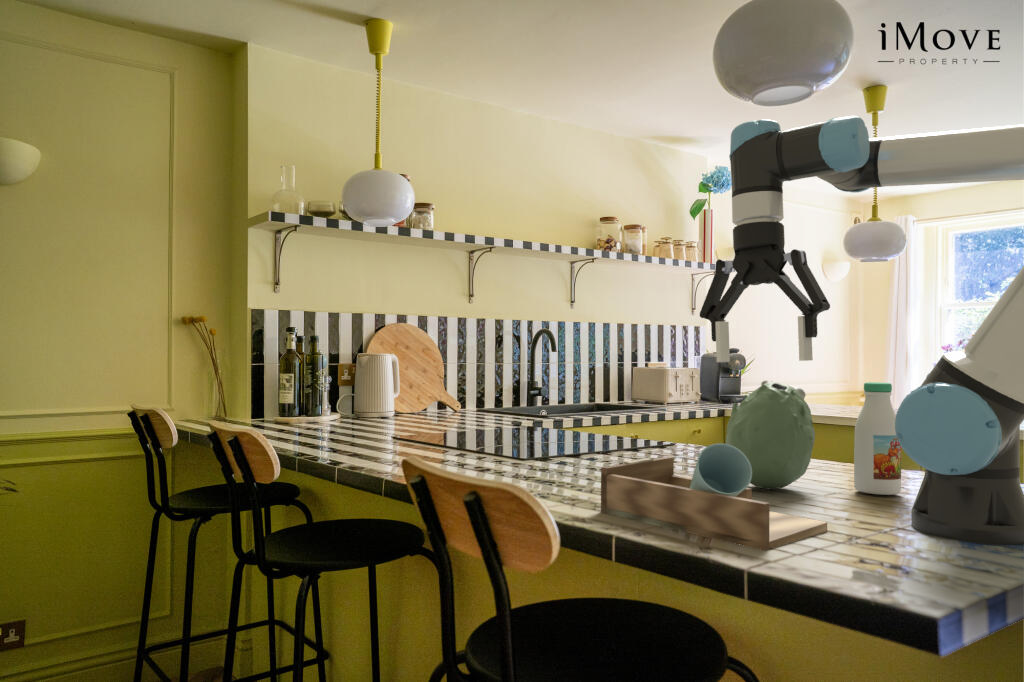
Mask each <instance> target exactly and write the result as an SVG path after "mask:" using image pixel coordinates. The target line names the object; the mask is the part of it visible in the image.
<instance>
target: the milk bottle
mask: <svg viewBox="0 0 1024 682" xmlns="http://www.w3.org/2000/svg"><path fill="white" fill-rule="evenodd" d="M863 391H864V392H863V394H864V397H865V398H864V402H863V406H862V408H861V410H860V412H859V413H858V416H857V418H856V421H855V426H854V440H853V441H854V444H853V445H854V446H853V449H854V450H853V451H854V452H853V453H854V454H853V457H854V458H853V459H854V460H853V462H854V463H853V482H854V484H853V485H854V489H855V490H856V491H857V492H861V493H865V494H872V495H881V496H882V495H883V496H884V495H887V496H890V495H892V496H893V495H898V494H900V493H901V492H902V491H901V490H902V447H901V445H900V443H899V441H898V439H897V435H896V431H895V418H896V414H897V413H895V410H894V407H893V404H892V401H891V396H892V395H893V394H892V391H893V386H892V383H891V382H880V381H879V382H877V381H876V382H875V381H872V382H871V381H869V382H867V381H866V382H864V383H863Z"/></svg>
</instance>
